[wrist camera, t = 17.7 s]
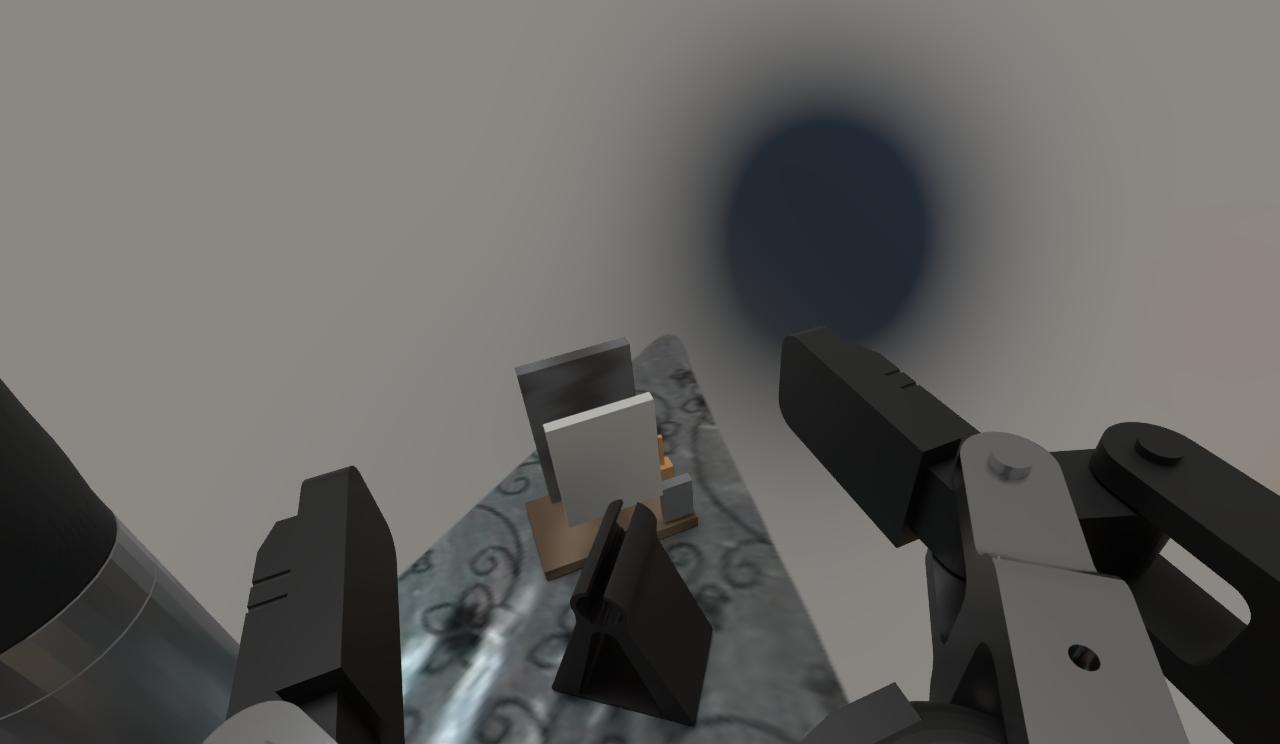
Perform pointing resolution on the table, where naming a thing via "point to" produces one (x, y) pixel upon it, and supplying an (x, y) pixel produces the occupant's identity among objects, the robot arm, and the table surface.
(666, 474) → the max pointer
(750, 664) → the table surface
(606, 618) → the phone stand
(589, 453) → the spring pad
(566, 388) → the grey bookend
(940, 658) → the robot arm
